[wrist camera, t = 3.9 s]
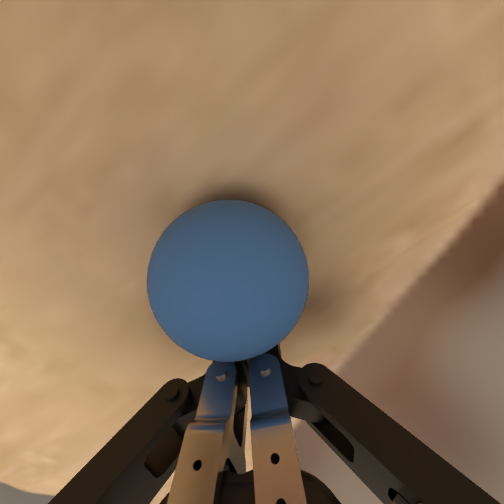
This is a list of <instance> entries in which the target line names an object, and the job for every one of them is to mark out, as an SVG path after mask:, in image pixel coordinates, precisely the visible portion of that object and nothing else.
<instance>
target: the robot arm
mask: <svg viewBox="0 0 504 504" xmlns="http://www.w3.org/2000/svg"><path fill="white" fill-rule="evenodd" d="M247 387H250V396H251V409H252V418H251V420H250V429H251V444H252V459H253V470H251V471H248V472H246V460H245V438H246V425H247V412H248V400H247ZM290 416H291V417H295V418H299V419H302V420H306V422H307V423H308V425H309V426H310V427H311V428H312V429H313V430H314V431H315V432H316V433H317V434H318V435H319V436H320V437H321V438H322V439H323V440H324V441H325V443H326V444H327V445H328V446H329V447H330V448H331V449H332V450H333V451H334V452H335V453H336V454H337V455H338V456H339V457H340V458H341V459H342V460H343V461H344V462H345V464H346V465H347V466H348V467H349V468H350V469H351V470H352V471H353V472H354V473H355V474H356V475H357V476H358V477H359V478H360V479H361V480H362V481H363V482H364V484H365V485H366V486H367V487H368V488H369V489H370V490H371V491H372V492H373V493H374V494H375V495H376V496H377V497H378V498H379V499H380V500H381V501H382V502H383V503H384V504H500V503H499V502H498V501H496V500H495V499H494V498H493V497H491V496H490V495H488V493H486V492H485V491H484V490H482V489H481V488H480V487H479V486H477V485H476V484H475V483H474V482H472V481H471V480H470V479H468V478H467V477H466V476H465V475H463V474H462V473H461V472H459V471H458V470H457V469H456V468H454V467H453V466H452V465H451V464H449V463H448V462H447V461H445V460H444V459H443V458H442V457H440V456H439V455H438V454H436V453H435V452H434V451H433V450H431V449H430V448H429V447H428V446H426V445H425V444H424V443H422V442H421V441H420V440H419V439H417V438H416V437H415V436H413V435H412V434H411V433H410V432H408V431H407V430H406V429H405V428H403V427H402V426H401V425H400V424H398V423H397V422H396V421H394V420H393V419H392V418H391V417H389V416H388V415H387V414H385V413H384V412H383V411H381V410H380V409H379V408H378V407H376V406H375V405H374V404H373V403H371V402H370V401H369V400H368V399H366V398H365V397H364V396H363V395H361V394H360V393H359V392H357V391H356V390H355V389H353V388H352V387H351V386H350V385H348V384H347V383H346V382H345V381H343V380H342V379H341V378H340V377H338V376H337V375H336V374H334V373H333V372H332V371H331V370H329V369H328V368H327V367H325V366H324V365H322V364H319V363H310V364H307V365H305V366H304V367H303V368H299V367H294V366H291V365H289V364H287V363H286V362H284V361H283V360H282V358H281V351H280V343H278V344H277V345H276V346H274V347H273V348H271V349H270V350H268V351H267V352H265V353H263V354H261V355H258V356H255V357H253V358H250V359H246V360H241V361H234V362H220V361H213V363H212V364H211V365H210V366H209V368H208V369H207V372H206V374H204V375H203V376H201V377H199V378H197V379H195V380H193V381H191V382H188V383H187V382H186V381H185V380H183V379H180V378H177V379H173V380H170V381H168V382H167V383H166V384H165V385H163V386H162V387H161V389H160V390H159V391H158V392H157V393H156V394H155V395H154V396H153V397H152V398H151V399H150V400H149V401H148V402H147V403H146V404H145V405H144V406H143V407H142V408H141V409H140V410H139V411H138V412H137V413H136V414H135V415H134V416H133V417H132V418H131V419H130V420H129V421H128V422H127V423H126V424H125V425H124V426H123V427H122V428H121V429H120V430H119V431H118V432H117V433H116V435H115V436H114V437H113V438H112V439H111V440H110V441H109V442H108V443H107V444H106V445H105V446H104V447H103V448H102V449H101V450H100V451H99V452H98V453H97V454H96V455H95V456H94V457H93V458H92V459H91V460H90V461H89V462H88V463H87V464H86V465H85V466H84V467H83V468H82V469H81V470H80V471H79V472H78V473H77V474H76V475H75V476H74V477H73V478H72V480H71V481H70V482H69V483H68V484H67V485H66V486H65V487H64V488H63V489H62V490H61V491H60V492H59V493H58V494H57V495H56V496H55V497H54V498H53V499H52V500H51V501H50V502H49V503H48V504H150V502H151V501H152V500H153V498H154V497H155V496H156V494H157V493H158V492H159V490H160V489H161V488H162V486H163V485H164V484H165V482H166V481H167V480H168V478H169V477H170V476H171V474H172V473H173V472H174V470H175V469H176V470H175V474H174V478H173V482H172V485H171V489H170V492H169V493H168V494H167V495H166V496H165V498H164V499H163V500H162V501H161V502H160V504H341V503H340V502H339V501H338V499H337V498H336V497H335V496H334V494H333V493H332V492H331V490H330V489H329V488H328V487H327V486H326V485H325V484H324V483H323V482H321V481H320V480H319V479H318V478H317V477H315V476H313V475H312V474H310V473H308V472H306V471H303V470H301V468H300V463H299V458H298V453H297V448H296V443H295V438H294V433H293V428H292V423H291V418H290Z"/></svg>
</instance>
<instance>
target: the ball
mask: <svg viewBox="0 0 504 504" xmlns="http://www.w3.org/2000/svg"><path fill="white" fill-rule="evenodd" d="M308 288H309V271H308V266H307V261H306V257H305V254H304V251H303V248H302V246H301V244H300V243H299V241H298V239H297V237H296V235H295V234H294V233H293V231H292V230H291V228H290V227H289V226H288V225H287V224H286V223H285V222H284V221H283V220H282V219H281V218H279V217H278V216H277V215H275V214H274V213H273V212H271V211H269V210H267V209H266V208H264V207H261V206H259V205H257V204H254V203H250V202H246V201H240V200H216V201H211V202H207V203H203V204H201V205H198V206H196V207H194V208H192V209H190V210H188V211H186V212H185V213H183V214H182V215H180V216H179V217H178V218H177V219H175V220H174V221H173V222H172V223H171V224H170V225H169V226H168V227H167V229H166V230H165V231H164V232H163V234H162V235H161V236H160V238H159V240H158V241H157V243H156V245H155V247H154V249H153V252H152V255H151V258H150V262H149V266H148V273H147V292H148V297H149V301H150V305H151V308H152V311H153V313H154V315H155V318H156V320H157V321H158V323H159V325H160V326H161V328H162V329H163V330H164V332H165V333H166V334H167V335H168V336H169V337H170V338H171V339H172V340H173V341H174V342H175V343H176V344H177V345H179V346H180V347H182V348H183V349H185V350H186V351H188V352H190V353H192V354H194V355H196V356H198V357H201V358H204V359H208V360H213V361H220V362H234V361H241V360H246V359H250V358H253V357H255V356H258V355H261V354H263V353H265V352H267V351H268V350H270V349H271V348H273V347H274V346H276V345H277V344H278V343H279V342H281V341H282V340H283V339H284V338H285V337H286V336H287V335H288V334H289V333H290V331H291V330H292V329H293V327H294V326H295V325H296V323H297V321H298V319H299V317H300V315H301V313H302V311H303V309H304V306H305V303H306V299H307V294H308Z"/></svg>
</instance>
